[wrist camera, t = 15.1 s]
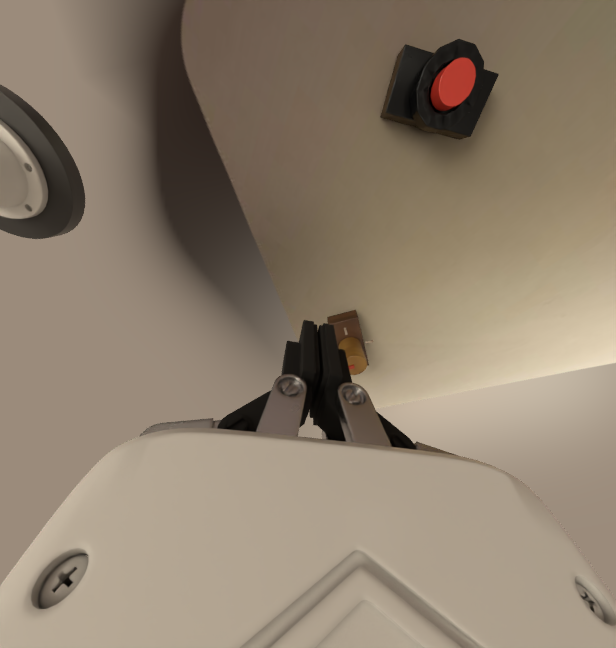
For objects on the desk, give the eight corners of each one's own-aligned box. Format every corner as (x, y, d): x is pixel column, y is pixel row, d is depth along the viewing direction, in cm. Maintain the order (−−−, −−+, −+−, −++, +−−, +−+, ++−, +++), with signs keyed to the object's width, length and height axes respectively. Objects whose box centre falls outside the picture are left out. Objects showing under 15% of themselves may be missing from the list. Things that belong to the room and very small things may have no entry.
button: (424, 106, 23) (432, 101, 22) (440, 61, 21) (450, 52, 20) (453, 114, 23) (463, 110, 22) (471, 71, 22) (483, 63, 20)
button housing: (378, 123, 27) (388, 115, 23) (400, 46, 23) (415, 24, 20) (457, 145, 28) (477, 140, 24) (488, 74, 24) (517, 57, 21)
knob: (358, 334, 39) (364, 354, 35) (363, 351, 41) (369, 372, 37) (335, 340, 40) (339, 360, 36) (341, 357, 42) (345, 378, 38)
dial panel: (318, 319, 41) (319, 327, 38) (364, 307, 39) (367, 315, 37) (333, 364, 46) (334, 373, 44) (374, 354, 45) (377, 364, 43)
